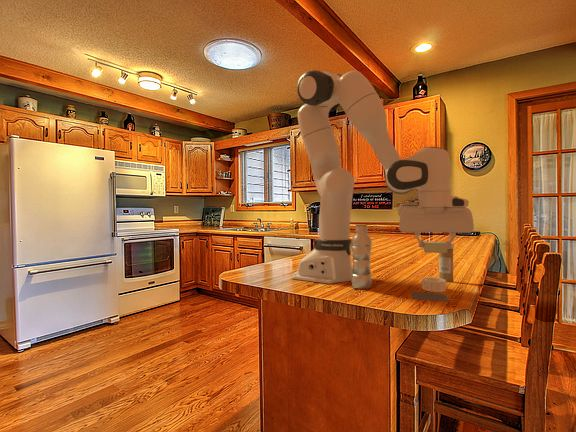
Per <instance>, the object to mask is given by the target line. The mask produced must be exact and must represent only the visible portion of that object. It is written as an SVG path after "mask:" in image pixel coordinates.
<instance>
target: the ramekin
mask: <svg viewBox="0 0 576 432" xmlns="http://www.w3.org/2000/svg"><path fill="white" fill-rule="evenodd" d="M421 288H422V290H424V291H426V292H430V293H444V292H446V291H447V282H446V280H445V279H442V278H439V277H434V276H433V277H432V276H425V277H422V278H421Z"/></svg>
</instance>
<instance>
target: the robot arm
mask: <svg viewBox="0 0 576 432" xmlns="http://www.w3.org/2000/svg"><path fill="white" fill-rule="evenodd" d="M296 91H297V96H298V98H299V100H301V101H302V102H303V103H304V104H303V105H302V106H301V107H300V108H299V110H298V111H297V122H298V126H299V127H298V128H299V132H300V135H301V138H302V139H301V140H302V141H303V142H302V143H303V145H304V148H305V150H306V153H307V157H308V160H309V163H310V167H311V172H312V177H313V180H314V182H315V183H314V184H315V188H316V191H317V194H318V195H319V196H320V203H319V204H320V205H319V214H318V215H319V216H318V238H316V239H315V240H314V241H313V243H312V245H313V249H312V250H310V251H309V252H308V253H307V254H306V255H305V256H303V257H302V258H301V259H300V260H299V263H298V268H297V271H295V272H293V273H292V275H291V279H293V280H297V281H307V282H313V283H314V282H315V283H323V284H328V285H329V284H330V285H331V284H336V283H343V282H351V277H352V271H353V263H352V259H351V258H352V257H351V254H352V245H351V241H352V239H351V211H352V204H353V197H354V187H355V178H354V176H353V175H352V172H350V171H349V170H348V169H345V168H343V167H342V163H341V158H340V149H339V145H338V143H337V139H336V136H335V134H334V130H333V127H332V125H331V121H330V117H329V113H330V112H334V111H336V110H337V109H338V107H340V106H341V108H342V109H343V111H344V113H345V114H346V117H347V118H348V120H349V121H350V122H351V124H352V125H353V127H354V128H355V129H356V130H357V132H358V133H359V134H360V135H361V137H363V138H364V139H365V141H366V142H367V143H368V144H369V145H370V147H371V148H372V150H373V152H374V153H375V155H376V157H377V158H378V160H379V162H380V164H381V166H382V168H383V170H384V178H385V185H386V187H387V189H388V190H389V191H390V192H392V193H393V194H395V195H406V194H408V193H410V192H412V191H413V190H414V189H416V190H418V193H417V194H418V197H417V199H418V201H410V202H408V201H406V202H402V203H400V204H399V205H398V206H397V214H398V216H399V222H398V223H399V224H398V229H399V231H400V232H401V233H414V236H415V238H416V240H417V242H418V248H423V247H424V245H423V244H424V242H425V240H421V239H420V238H419V237H420V236H421V233H448V235H449V236H450V238H449V239H448V240H447V241H444V242H445V243H446V244H447V248H451V242H452V243H453V241H454V240H455V238H456V235H457V234H458V233H463V234H464V233H466V234H467V233H469V234H470V233H472V232H473V231H474V228H475V227H474V226H475V225H474V224H475V223H474V217H473V213H472V210H471V209H470V208H468V207H469V205H470V203H469V200H468V199H467V198H462V197H459V196H456V195H452V194H451V193H452V189H451V186H450V180H451V176H452V174H451V172H452V171H451V159H450V154H449V152H448V151H447V150H446V149H444V148H442V147H438V146H424V147H421V148H420V149H419V150H418V151H417V152H414V153H413V154H412V155H410V156H407V157H405V158H401V157H400V155H399V153H398V150H397V149H396V147H395V145H394V144H393V142H392V140H391V136H390V135H389V130H388V123H387V121H388V120H387V113H386V110H385V106H384V104H383V101H382V99H381V98H380V95H379V94H378V93H377V91H376V90H375V88H374V86H373V85H372V83H371V82H370V81H369V80H368V78H367V77H365V75H364V74H362V72H361V71H359V70H351V71H347V72H346V73H344V74H338V73H334V72H332V71H328V70H327V71H320V70H308V71H306V72H304V73H303V74H302V75H301V76H300V77H299V79H298V82H297V86H296Z"/></svg>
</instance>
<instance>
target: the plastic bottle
mask: <svg viewBox="0 0 576 432" xmlns="http://www.w3.org/2000/svg"><path fill="white" fill-rule="evenodd" d="M368 231H369V230H368V224H355V234H354V235H353V236H352V239H351V245H352V250H351V254H352V270H353V271H352V277H351V281H350V282H351V286H352V288H355V289H357V290H358V289H359V290H367V289H370V288H371V287H372V284H373V276H372V273H371V272H372V271H371V253H372V245H373V244H372V243H373V242H372V241H373V240H372V239H371V237H370V234H368Z"/></svg>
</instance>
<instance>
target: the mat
mask: <svg viewBox="0 0 576 432" xmlns="http://www.w3.org/2000/svg"><path fill="white" fill-rule="evenodd" d="M410 292H411V298H412V300H421V301H433V302H434V301H435V302H445V303H450V300H449V298H448V297H447V294H446V293H436V292H423V291H422V292H421V291H410Z"/></svg>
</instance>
